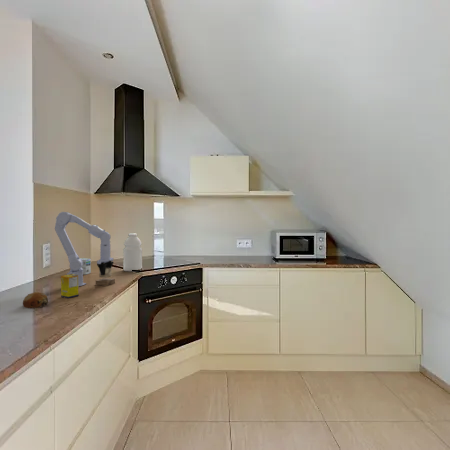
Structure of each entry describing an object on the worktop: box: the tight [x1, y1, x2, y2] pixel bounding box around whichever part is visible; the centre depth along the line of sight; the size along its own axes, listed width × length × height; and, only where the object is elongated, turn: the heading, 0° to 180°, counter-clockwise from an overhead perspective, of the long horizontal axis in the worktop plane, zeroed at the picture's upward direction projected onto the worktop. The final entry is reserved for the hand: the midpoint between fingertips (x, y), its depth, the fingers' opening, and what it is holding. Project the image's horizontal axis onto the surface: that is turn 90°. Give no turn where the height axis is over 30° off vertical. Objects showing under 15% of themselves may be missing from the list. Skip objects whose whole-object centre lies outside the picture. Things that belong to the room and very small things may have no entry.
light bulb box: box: [79, 257, 92, 275], centre depth 231 cm, size 11×7×11 cm, turn 84°
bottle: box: [122, 232, 143, 272], centre depth 249 cm, size 14×14×28 cm
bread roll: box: [22, 291, 49, 309], centre depth 149 cm, size 10×10×8 cm
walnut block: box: [95, 277, 116, 287], centre depth 197 cm, size 8×8×3 cm
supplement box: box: [60, 274, 79, 299], centre depth 166 cm, size 6×6×11 cm
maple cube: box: [98, 267, 112, 279], centre depth 197 cm, size 5×5×5 cm
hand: (105, 274), depth 197 cm, fingers closed on maple cube, 5 cm apart
